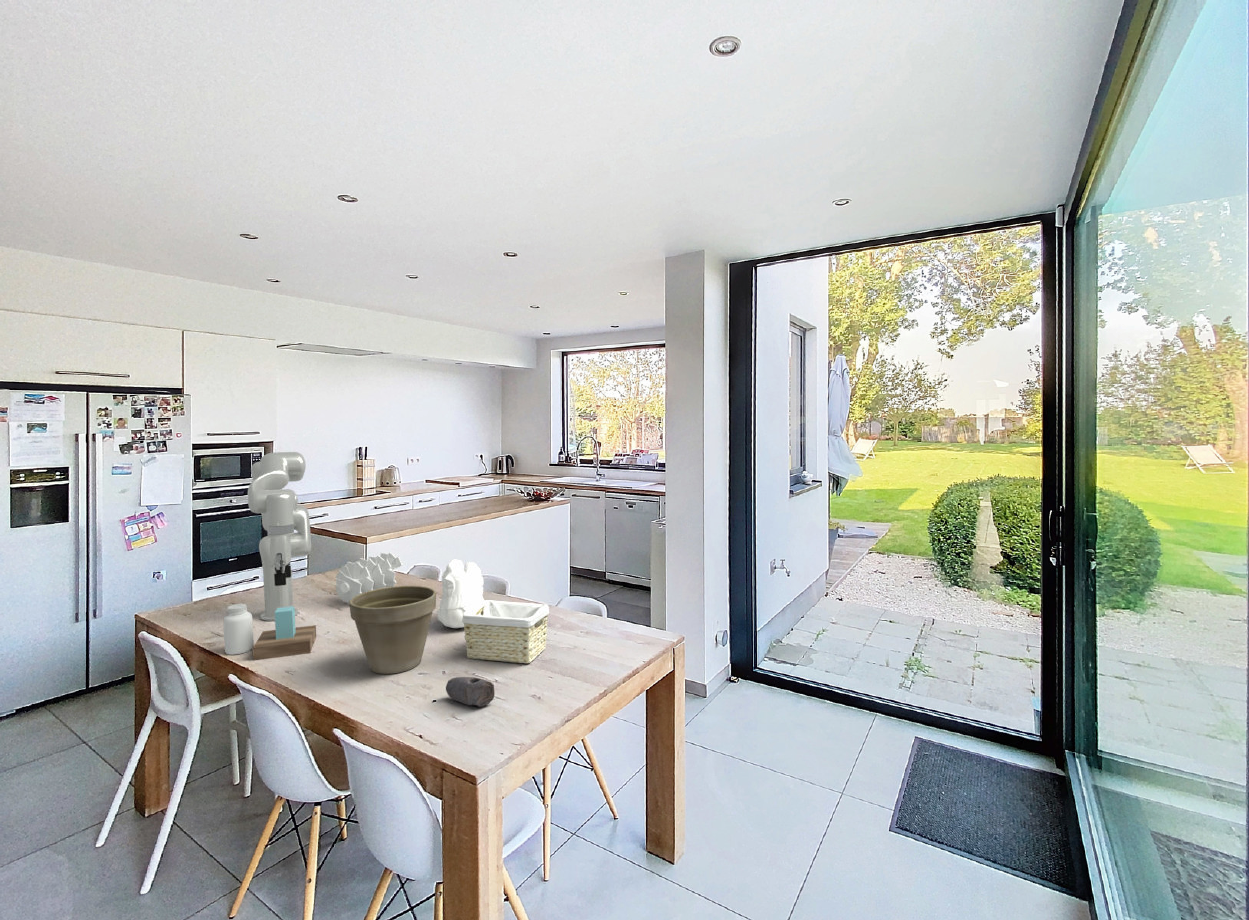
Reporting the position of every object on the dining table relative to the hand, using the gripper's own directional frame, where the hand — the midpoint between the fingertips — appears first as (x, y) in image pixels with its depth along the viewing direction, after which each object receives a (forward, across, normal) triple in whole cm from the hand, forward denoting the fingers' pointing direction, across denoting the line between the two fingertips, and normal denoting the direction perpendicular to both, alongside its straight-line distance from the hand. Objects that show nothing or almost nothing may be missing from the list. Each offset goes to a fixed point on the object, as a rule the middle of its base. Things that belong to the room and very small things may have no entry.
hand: (283, 581), depth 198 cm
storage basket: (+22, +32, +68) cm, 78 cm away
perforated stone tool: (+22, +62, +52) cm, 84 cm away
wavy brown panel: (+22, 0, 0) cm, 22 cm away
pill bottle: (+22, -2, -14) cm, 27 cm away
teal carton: (+18, 0, 0) cm, 18 cm away
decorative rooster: (+22, -2, +59) cm, 63 cm away
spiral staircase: (+23, -50, +23) cm, 59 cm away
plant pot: (+22, +28, +34) cm, 50 cm away
